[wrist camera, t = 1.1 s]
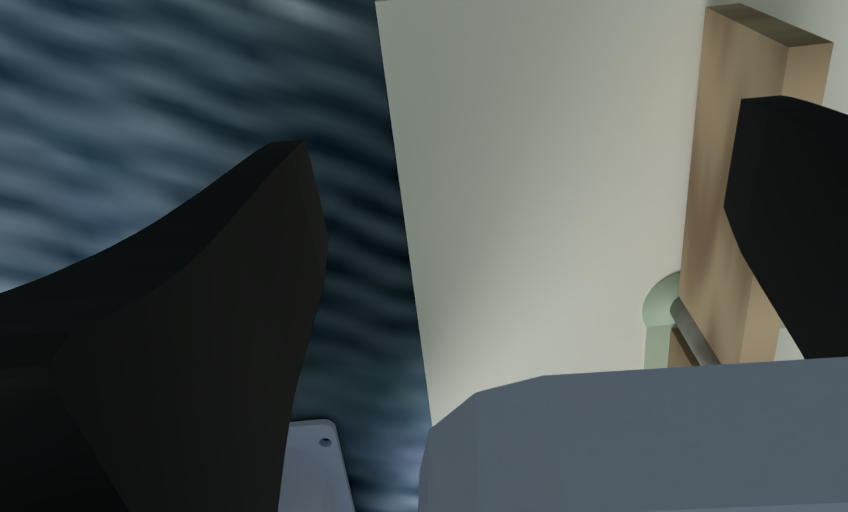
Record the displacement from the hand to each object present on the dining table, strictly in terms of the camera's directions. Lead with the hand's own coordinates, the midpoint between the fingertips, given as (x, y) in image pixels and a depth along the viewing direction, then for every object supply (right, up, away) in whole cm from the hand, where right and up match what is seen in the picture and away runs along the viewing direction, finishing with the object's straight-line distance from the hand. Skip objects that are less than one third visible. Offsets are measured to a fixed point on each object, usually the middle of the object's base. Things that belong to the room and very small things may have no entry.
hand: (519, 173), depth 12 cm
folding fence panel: (+8, +2, +11) cm, 13 cm away
